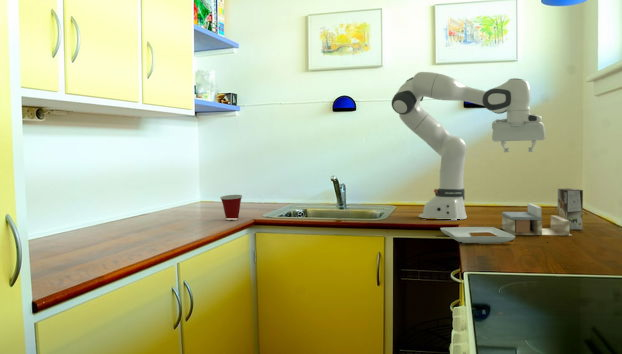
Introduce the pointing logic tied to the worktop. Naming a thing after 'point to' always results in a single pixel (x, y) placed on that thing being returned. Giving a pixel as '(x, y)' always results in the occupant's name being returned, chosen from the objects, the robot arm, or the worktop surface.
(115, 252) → the worktop surface
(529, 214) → the sliding roof
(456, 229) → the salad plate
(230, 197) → the plastic cup
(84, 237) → the worktop surface
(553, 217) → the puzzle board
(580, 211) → the coffee box
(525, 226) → the terracotta block
